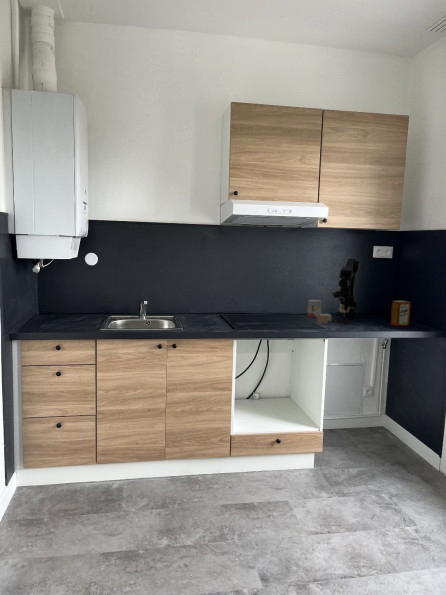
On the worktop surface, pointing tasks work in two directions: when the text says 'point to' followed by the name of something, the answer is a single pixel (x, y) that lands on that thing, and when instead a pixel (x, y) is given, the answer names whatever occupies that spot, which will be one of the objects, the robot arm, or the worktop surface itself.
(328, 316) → the sage block
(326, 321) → the terracotta cube
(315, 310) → the ink box
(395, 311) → the baking soda box
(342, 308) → the maple cube
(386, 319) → the worktop surface
